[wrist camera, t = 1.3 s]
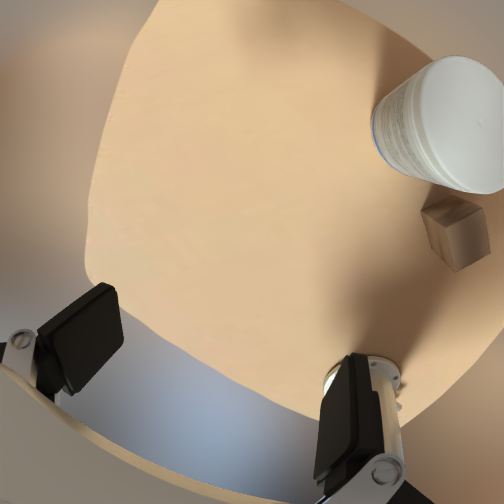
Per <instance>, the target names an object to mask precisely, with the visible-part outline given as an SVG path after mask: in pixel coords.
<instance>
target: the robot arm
mask: <svg viewBox="0 0 504 504" xmlns="http://www.w3.org/2000/svg"><path fill="white" fill-rule="evenodd" d="M37 332H38V336H37V337H36V336H35V333H34V332H33V331H32V330H29V329H20V330H17V331H15V332H14V333H13V334H11V336H10V337H9V339H8V341H7V342H3V343H0V504H290V503H284V502H278V501H273V500H268V499H263V498H257V497H253V496H249V495H245V494H241V493H237V492H233V491H229V490H225V489H222V488H218V487H215V486H212V485H208V484H205V483H202V482H199V481H197V480H194V479H191V478H188V477H185V476H183V475H180V474H178V473H175V472H173V471H170V470H168V469H165V468H163V467H160V466H158V465H156V464H154V463H151V462H150V461H147V460H145V459H143V458H141V457H139V456H137V455H135V454H133V453H131V452H129V451H127V450H125V449H124V448H122V447H120V446H118V445H116V444H114V443H113V442H111V441H109V440H108V439H106V438H104V437H102V436H101V435H99V434H97V433H96V432H94V431H93V430H91V429H90V428H88V427H87V426H85V425H84V424H82V423H81V422H79V421H77V420H76V419H75V418H73V417H72V416H70V415H69V414H68V413H66V412H65V411H64V410H62V409H61V408H60V407H59V391H60V390H61V389H63V391H64V392H66V393H67V394H68V395H70V396H73V395H74V394H75V393H78V392H80V391H81V389H82V388H83V387H84V386H85V385H86V384H87V383H88V382H89V380H91V378H92V377H93V376H94V375H95V374H96V373H97V372H98V371H99V370H100V369H101V367H102V366H103V365H104V364H105V363H106V362H107V361H108V360H109V359H110V358H111V357H112V355H113V354H114V353H115V352H116V351H117V350H118V349H119V348H120V347H121V346H122V344H123V341H124V336H123V330H122V324H121V318H120V311H119V303H118V295H117V292H116V291H115V288H114V287H113V286H111V285H109V284H106V283H104V282H101V283H99V284H98V285H96V286H95V287H94V288H92V289H91V290H89V291H88V292H87V293H85V294H84V295H82V296H81V297H80V298H78V299H77V300H76V301H74V302H73V303H71V304H70V305H69V306H68V307H66V308H65V309H63V310H62V311H61V312H60V313H58V314H57V315H56V316H54V317H53V318H52V319H50V320H49V321H48V322H46V323H45V324H44V325H42V326H41V327H40V328H39V329H37ZM400 379H401V377H400V372H399V369H398V367H397V366H396V365H395V363H393V362H392V361H390V360H388V359H386V358H383V357H378V356H367V355H364V354H358V353H351V354H350V356H347V355H346V356H345V358H344V360H343V362H342V364H340V365H338V366H337V367H335V368H334V369H333V370H332V371H331V372H330V373H329V374H328V375H327V377H326V378H325V381H324V384H323V394H324V398H323V400H322V403H321V408H320V421H319V432H318V442H317V451H316V460H315V468H314V476H313V477H314V480H317V487H324V495H325V496H324V497H323V498H322V499H321V500H319V501H318V502H317V503H316V504H434V503H433V502H432V501H431V500H429V499H428V498H427V497H425V496H424V495H423V494H422V493H420V492H419V491H418V490H417V489H416V488H414V487H413V486H412V485H411V484H409V483H408V482H407V481H406V479H405V478H406V466H405V464H404V459H403V450H402V442H401V434H400V427H399V420H398V414H397V412H398V411H400V410H401V408H402V405H401V404H399V403H398V402H396V398H395V392H396V390H397V389H398V387H399V384H400Z"/></svg>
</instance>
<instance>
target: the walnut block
mask: <svg viewBox="0 0 504 504" xmlns="http://www.w3.org/2000/svg"><path fill="white" fill-rule="evenodd" d="M421 214H422V217H423V220H424V223H425V227H426V230H427V233H428V237H429V240H430V244H431V248H432V249H433V250H434V251H435V252H436V253H437V254H438V255H439V256H440V257H441V258H442V259H443V260H444V261H445V263H446V264H447V265H448V266H449V267H450V268H451V269H452V270H453V271H454V272H455V273H456V272H458V271H460V270H462V269H463V268H465V267H467V266H469V265H471V264H472V263H474V262H476V261H478V260H479V259H481V258H483V257H485V256H486V255H488V254H490V245H489V239H488V233H487V227H486V222H485V216H484V212H483V208H481V207H479V206H476V205H474V204H472V203H470V202H467V201H465V200H463V199H460V198H458V197H456V196H451V197H449V198H447V199H445V200H443V201H441V202H439V203H437V204H435V205H432V206H430V207H428V208H426V209H424V210H422V211H421Z"/></svg>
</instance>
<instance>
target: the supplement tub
mask: <svg viewBox="0 0 504 504" xmlns="http://www.w3.org/2000/svg"><path fill="white" fill-rule="evenodd" d="M371 135H372V140H373V143H374V146H375V148H376V150H377V152H378V154H379V155H380V156H381V158H382V159H383V160H384V161H385V162H386V164H387V165H389V166H390V167H391V168H392V169H394V170H396V171H397V172H399V173H401V174H404V175H408V176H411V177H415V178H418V179H422V180H425V181H429V182H432V183H436V184H439V185H442V186H445V187H449V188H452V189H455V190H459V191H463V192H469V193H478V194H491V193H495V192H497V191H500V190H501V189H503V188H504V85H503V84H502V82H501V81H500V80H499V79H498V78H497V76H496V75H495V74H493V72H491V71H490V70H489V69H488V68H487V67H485V66H484V65H482V64H481V63H479V62H478V61H476V60H473V59H471V58H468V57H464V56H458V55H451V56H446V57H443V58H441V59H438V60H435V61H433V62H431V63H429V64H427V65H426V66H424V67H423V68H422V69H420V70H419V71H418V72H416V73H415V74H414V75H412V76H411V77H410V78H408V79H407V80H406V81H404V82H403V83H402V84H401V85H399V86H398V87H397V88H395V89H394V90H393V91H392V92H390V93H389V94H388V95H386V96H385V97H384V98H383V99H382V100H381V101H380V102H379V103H378V105H377V106H376V108H375V110H374V113H373V115H372V119H371Z"/></svg>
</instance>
